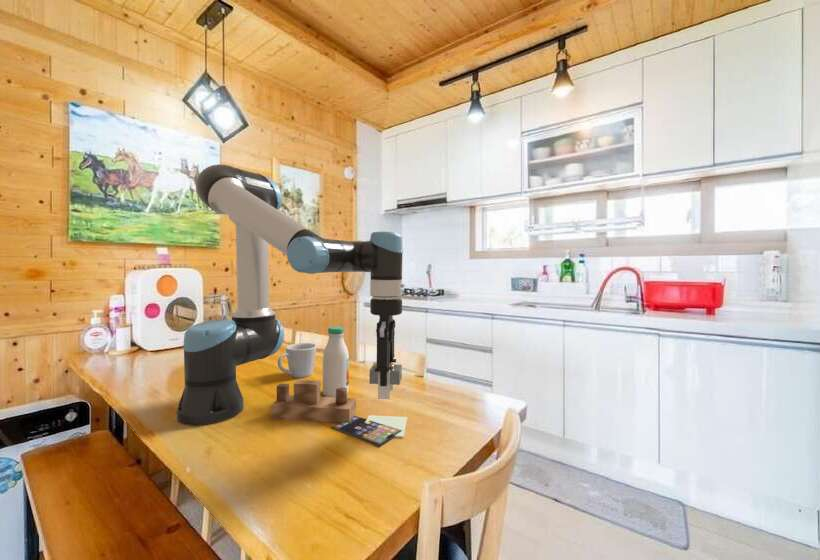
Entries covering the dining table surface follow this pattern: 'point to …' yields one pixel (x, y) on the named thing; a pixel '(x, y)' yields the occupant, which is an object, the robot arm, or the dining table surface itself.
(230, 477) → the dining table surface
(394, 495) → the dining table surface
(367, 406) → the dining table surface
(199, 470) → the dining table surface
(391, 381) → the lever cap
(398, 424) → the thin cream card
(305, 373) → the mug
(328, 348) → the milk bottle
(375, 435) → the smartphone
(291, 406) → the wooden peg board
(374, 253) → the robot arm
